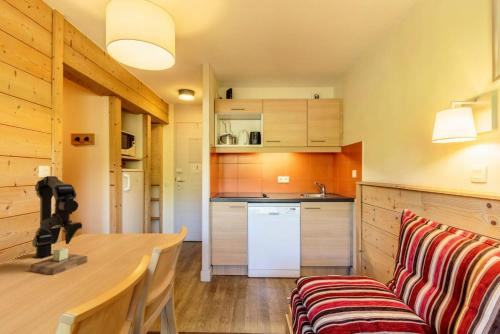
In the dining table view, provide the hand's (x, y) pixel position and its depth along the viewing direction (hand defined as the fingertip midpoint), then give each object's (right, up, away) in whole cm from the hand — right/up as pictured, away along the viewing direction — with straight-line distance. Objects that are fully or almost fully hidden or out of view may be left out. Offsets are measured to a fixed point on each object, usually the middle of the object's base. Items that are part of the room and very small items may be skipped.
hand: (61, 243), depth 114 cm
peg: (0, -11, 0) cm, 11 cm away
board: (0, -11, 0) cm, 11 cm away
